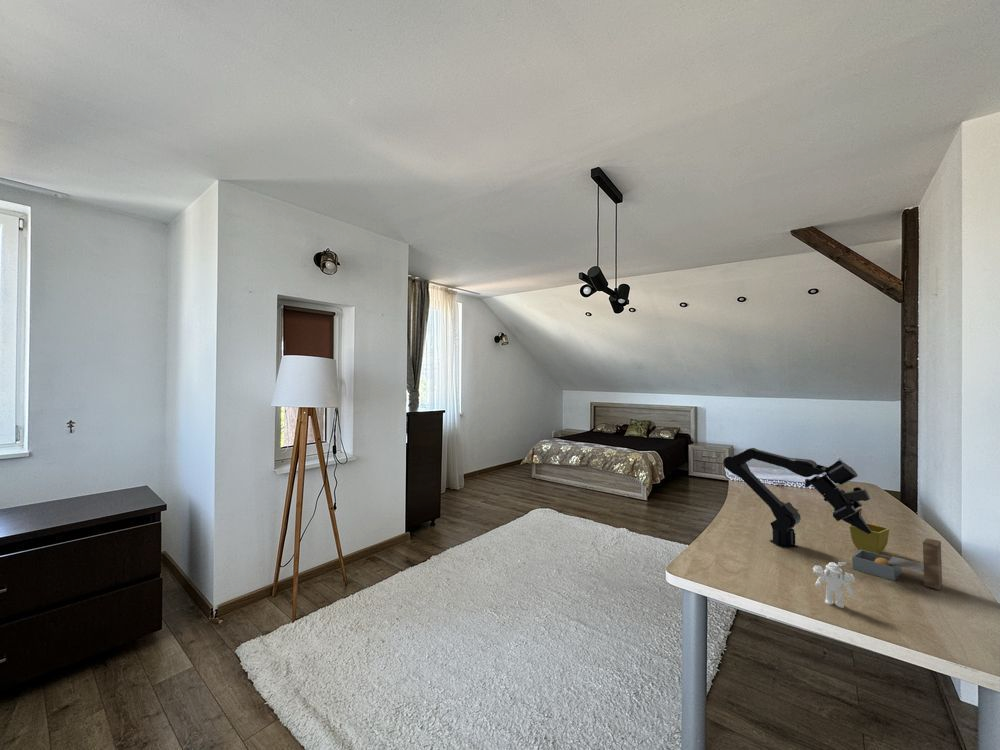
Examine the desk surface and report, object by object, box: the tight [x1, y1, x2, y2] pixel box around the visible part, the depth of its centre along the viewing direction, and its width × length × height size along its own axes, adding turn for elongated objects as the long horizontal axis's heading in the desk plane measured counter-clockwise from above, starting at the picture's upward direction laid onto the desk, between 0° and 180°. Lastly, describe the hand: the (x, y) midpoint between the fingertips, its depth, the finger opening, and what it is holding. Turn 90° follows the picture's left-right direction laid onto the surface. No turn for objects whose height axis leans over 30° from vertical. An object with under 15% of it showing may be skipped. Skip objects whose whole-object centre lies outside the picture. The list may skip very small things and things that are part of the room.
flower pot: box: [848, 523, 890, 554], centre depth 145 cm, size 9×9×9 cm
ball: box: [874, 558, 891, 566], centre depth 128 cm, size 4×4×4 cm
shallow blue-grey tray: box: [851, 549, 903, 581], centre depth 130 cm, size 10×10×4 cm
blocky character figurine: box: [812, 561, 856, 609], centre depth 110 cm, size 9×4×12 cm, turn 48°
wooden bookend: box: [888, 537, 943, 591], centre depth 123 cm, size 11×6×13 cm, turn 36°
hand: (870, 533), depth 132 cm, fingers closed
